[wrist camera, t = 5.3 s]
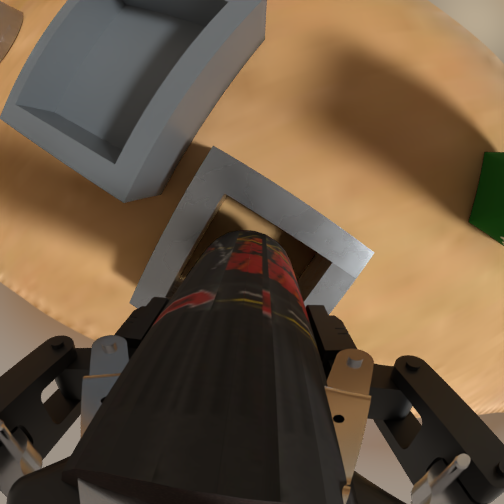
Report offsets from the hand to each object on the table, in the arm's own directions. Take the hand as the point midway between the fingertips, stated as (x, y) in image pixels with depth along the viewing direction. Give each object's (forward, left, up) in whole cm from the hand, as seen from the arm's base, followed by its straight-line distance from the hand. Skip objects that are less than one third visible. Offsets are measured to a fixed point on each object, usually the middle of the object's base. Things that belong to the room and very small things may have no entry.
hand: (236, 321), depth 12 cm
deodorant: (0, 0, -6) cm, 6 cm away
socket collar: (0, 0, -9) cm, 9 cm away
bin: (-15, +8, -9) cm, 19 cm away
